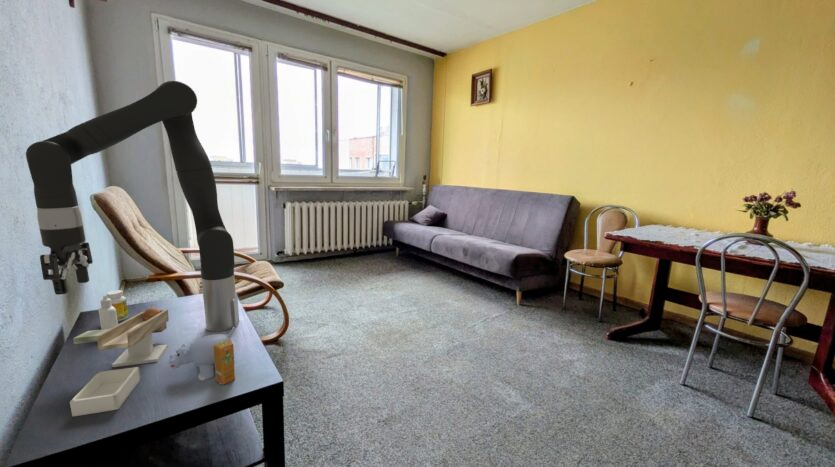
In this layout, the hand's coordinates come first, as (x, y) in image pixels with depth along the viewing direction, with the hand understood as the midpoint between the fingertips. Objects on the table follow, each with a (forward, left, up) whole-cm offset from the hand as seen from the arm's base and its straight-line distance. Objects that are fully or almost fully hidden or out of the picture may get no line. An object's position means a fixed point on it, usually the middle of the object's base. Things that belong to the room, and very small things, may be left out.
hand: (73, 287), depth 88 cm
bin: (-12, +18, -21) cm, 30 cm away
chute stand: (-12, +1, -21) cm, 24 cm away
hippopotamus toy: (-31, +12, -21) cm, 39 cm away
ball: (-12, -9, -13) cm, 20 cm away
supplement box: (-36, +19, -21) cm, 46 cm away
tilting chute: (-9, +1, -16) cm, 19 cm away
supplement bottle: (+5, -28, -21) cm, 36 cm away
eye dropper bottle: (+3, -18, -21) cm, 28 cm away
